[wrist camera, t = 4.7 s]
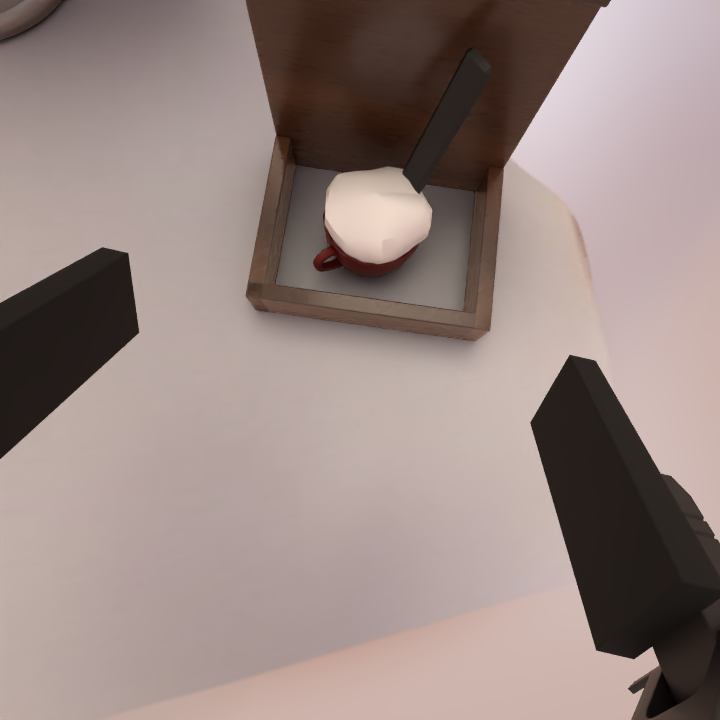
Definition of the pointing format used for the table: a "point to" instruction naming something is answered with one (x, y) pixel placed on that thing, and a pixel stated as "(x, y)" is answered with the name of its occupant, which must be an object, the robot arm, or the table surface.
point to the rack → (401, 121)
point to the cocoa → (396, 188)
